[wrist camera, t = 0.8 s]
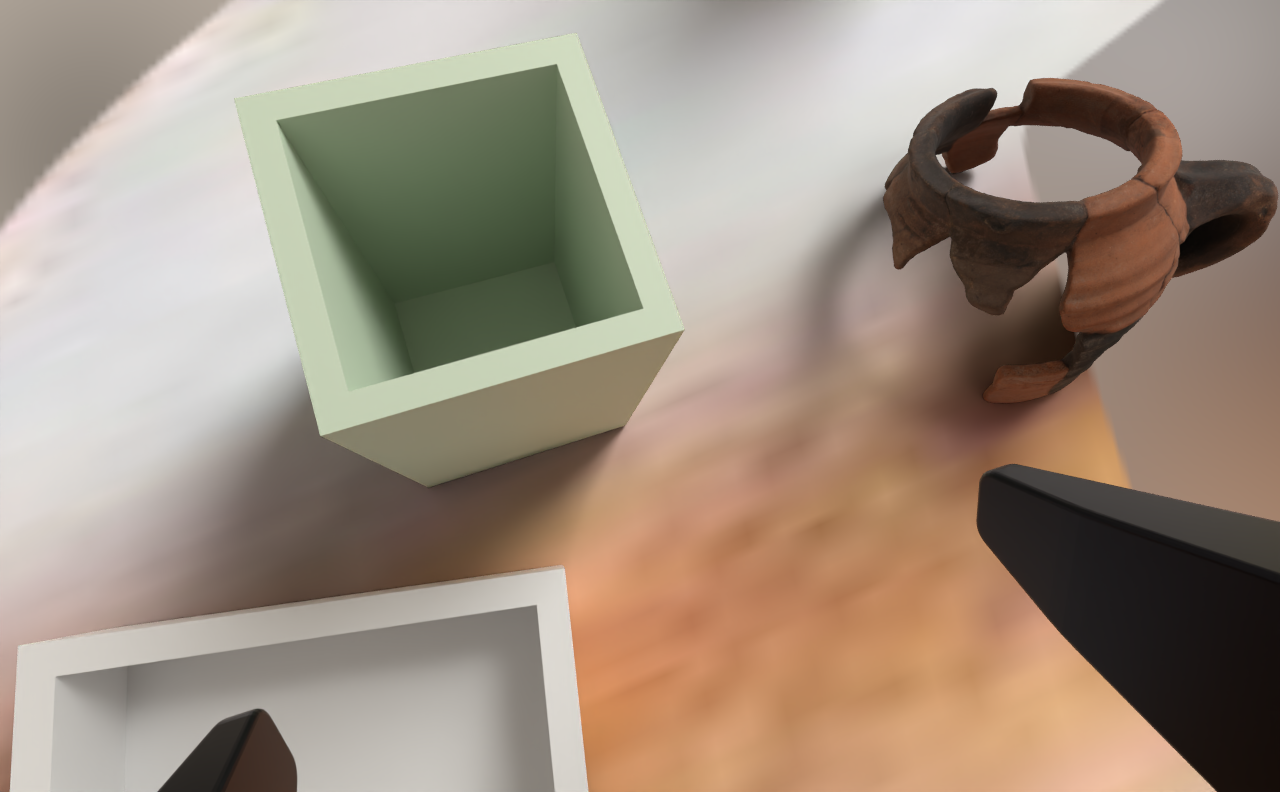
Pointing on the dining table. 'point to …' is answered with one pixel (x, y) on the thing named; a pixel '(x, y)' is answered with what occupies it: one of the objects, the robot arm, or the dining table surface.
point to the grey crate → (321, 692)
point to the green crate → (461, 257)
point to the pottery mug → (1071, 217)
